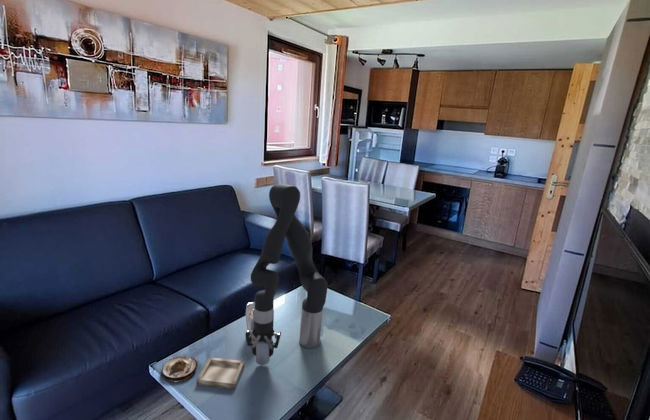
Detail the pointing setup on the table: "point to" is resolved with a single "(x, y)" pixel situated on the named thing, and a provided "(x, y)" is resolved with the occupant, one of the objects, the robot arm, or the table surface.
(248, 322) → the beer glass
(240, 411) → the table surface
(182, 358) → the stuffed round slice
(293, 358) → the table surface
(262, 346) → the grey rounded cylinder
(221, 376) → the birch tray
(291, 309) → the table surface
